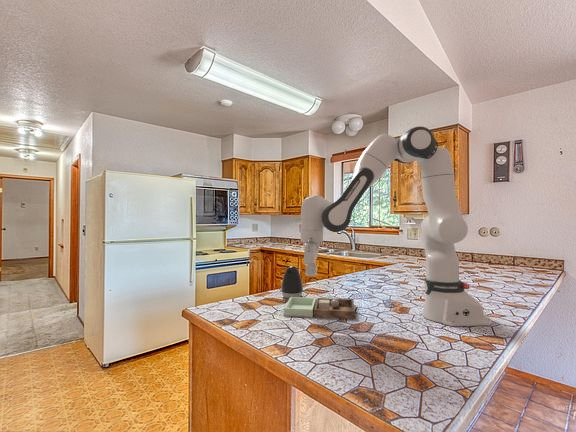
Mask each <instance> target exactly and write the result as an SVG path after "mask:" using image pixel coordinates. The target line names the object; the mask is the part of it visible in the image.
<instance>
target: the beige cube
mask: <svg viewBox="0 0 576 432" xmlns="http://www.w3.org/2000/svg"><path fill="white" fill-rule="evenodd" d="M319 309H324V310H330V300H319Z"/></svg>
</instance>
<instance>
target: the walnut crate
mask: <svg viewBox="0 0 576 432" xmlns="http://www.w3.org/2000/svg"><path fill="white" fill-rule="evenodd" d="M333 299H334V298H329V297H328V298H327V297H316V304H315V308H314V314H313V317H314V318H326V319H342V320H343V319H346V320H347V319H348V320H356V311H355V310H356V309H355V303H354V302H355V301H354V299H353V298H336V299H337V300H338V301H339V306H338V307H336V308H334V307H332V306H331V301H332V300H333ZM319 300H330V310H324V309H319Z"/></svg>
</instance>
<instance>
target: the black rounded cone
mask: <svg viewBox="0 0 576 432" xmlns="http://www.w3.org/2000/svg"><path fill="white" fill-rule="evenodd" d="M303 285H304V284H303V279H302V277H301V274H300V272H299V269H298V268H297V267H296V266H294V265H289V266H288V267H287V268H286V269H285V271H284V274H283V277H282V281H281V287H280V290H281V294H282V296H283V298H285V299H288V300H289V299H290V297H301V296H302V294H303V291H304V286H303Z"/></svg>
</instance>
